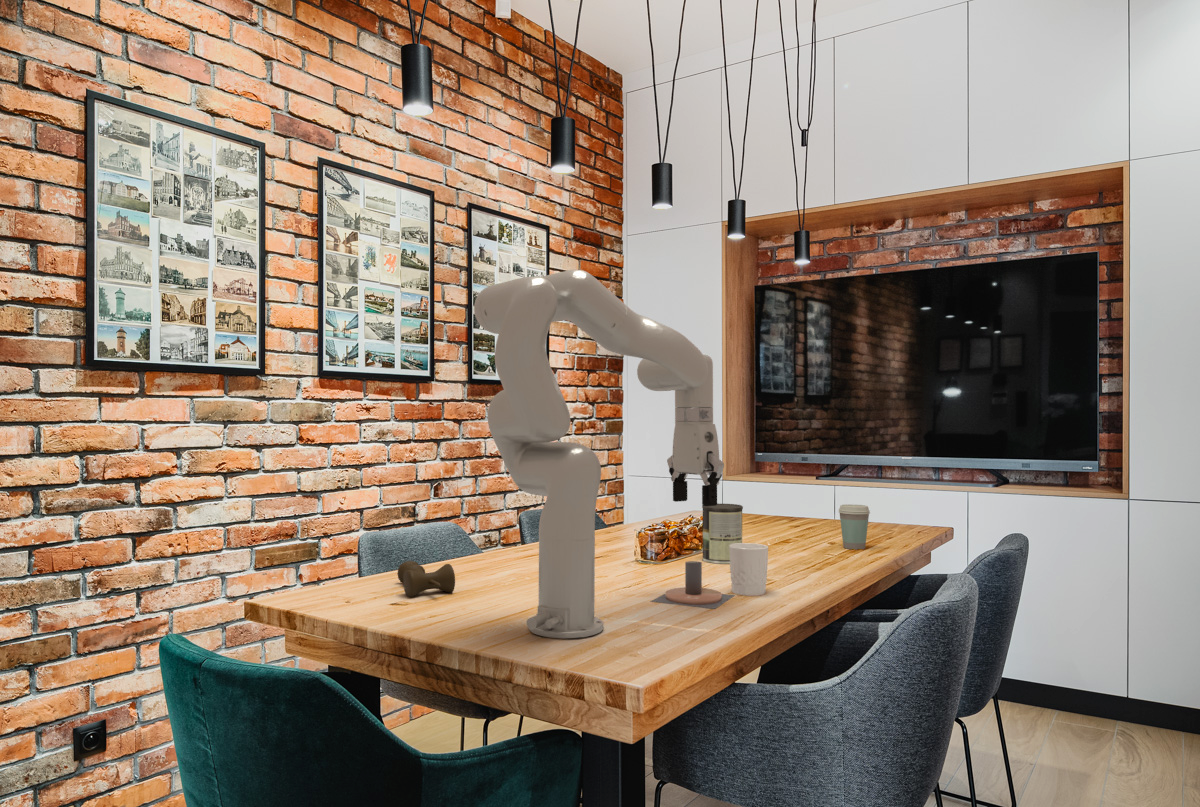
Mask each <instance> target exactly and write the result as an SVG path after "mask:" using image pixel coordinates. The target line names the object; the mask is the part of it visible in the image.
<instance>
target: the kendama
mask: <svg viewBox="0 0 1200 807" xmlns="http://www.w3.org/2000/svg"><path fill="white" fill-rule="evenodd" d="M397 578H398V580H399V581H400V583H402V584H403V590H404V594H405V595H406V597H408V598H413V597H415V596H417V595H418V594H420V593H421V592H422V593H423V591H427V590H432V589H433V590H434V589H435V590H440V591H442V592H444V593H448V594H452V593H453V592H454V590H455V587H456V576H455V570H454V568H453V566H452V565H451V564H450V563H445V564H444V565H442V566H441V567H440V568H439V569H437V570H435V571H431V572H426V570H425V568H424V567H423V566H421V564H420V565H419V563H418V562H416V561H414V560H407V561H403V563H401V564H400V565H399V566H398V569H397Z"/></svg>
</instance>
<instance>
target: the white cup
mask: <svg viewBox="0 0 1200 807" xmlns="http://www.w3.org/2000/svg"><path fill="white" fill-rule="evenodd" d="M729 552H730V564H729V570H730V581H731V592H732V593H733V594H734V595H735V594H736V595H740V596H752V597H753V596H762V595H765V594H766V593H767V592H766V590H767V589H766V587H767V580H768V578H767V576H768V565H769V564H768V563H769V546H768V545H766V544H761V543H755V542H754V543H750V542H742V543H735V544H730V545H729Z"/></svg>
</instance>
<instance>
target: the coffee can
mask: <svg viewBox="0 0 1200 807" xmlns="http://www.w3.org/2000/svg"><path fill="white" fill-rule="evenodd" d="M701 508H702V561H703V562H704V563H709V564H716V565H730V552H729V545H730V544H735V543H743V508H744V506H743V505H741V504H735V503H717V505H716V506H703V505H701Z"/></svg>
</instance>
